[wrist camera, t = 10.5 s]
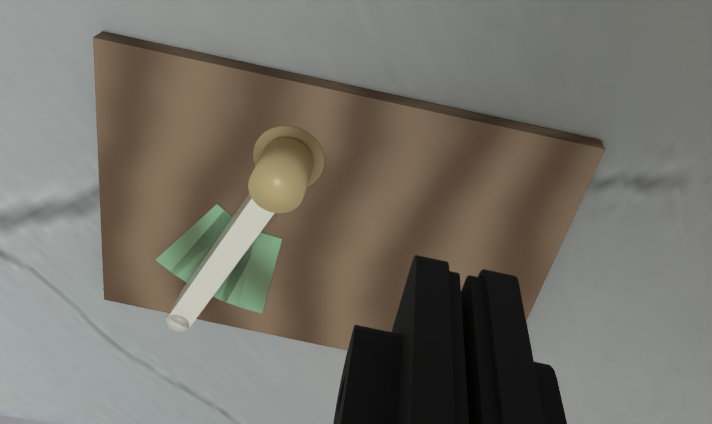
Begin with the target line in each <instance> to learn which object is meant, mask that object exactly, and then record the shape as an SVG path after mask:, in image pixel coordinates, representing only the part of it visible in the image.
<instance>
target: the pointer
mask: <svg viewBox="0 0 712 424" xmlns="http://www.w3.org/2000/svg"><path fill="white" fill-rule="evenodd" d="M312 170H313V157H312V154H311V152H310V151H309V149H308V148H307V147H306V146H305V145H304V144H303V143H301V142H299V141H297V140H295V139H292V138H278V139H275V140H273V141H271V142H270V143H268V144H267V145H266V147H265V148H264V150H263V152H262V154H261V156H260V158H259V160H258V162H257V164H256V166H255V168H254V170H253V172H252V174H251V176H250V179H249V182H248V190H249V194H248V196H247V197H246V199H245V200H244V201H243V203H242V204H241V206H240V207H239V209H238V210H237V212H236V213H235V214H234V216H233V217H232V219H231V220H230V222H229V223H228V224H227V226H226V227H225V229H224V230H223V232H222V233H221V235H220V236H219V237H218V239H217V240H216V242H215V243H214V245H213V246H212V247H211V249H210V250H209V252H208V253H207V255H206V256H205V257H204V259H203V260H202V262H201V263H200V265H199V266H198V268H197V269H196V270H195V272H194V273H193V275H192V276H191V278H190V279H189V280H188V282H187V283H186V285H185V286H184V288H183V289H182V291H181V293H180V295H179V296H178V298H177V300H176V302H175V304H174V306H173V308H172V310H171V312H170V314H169V316H168V318H167V320H166V323H167V326H168V327H169V328H170V329H171V330H173V331H175V332H180V333H181V332H186V331H187V330H188V329H189V328H190V326H191V325H192V324H193V322H194V321H195V320H196V318H197V317H198V316H199V314H200V313H201V312H202V310H203V309H204V308H205V306H206V305H207V304H208V302H209V301H210V300H211V298H212V297H213V295H214V294H215V293H216V291H217V290H218V289H219V287H220V286H221V285H222V283H223V282H224V281H225V279H226V278H227V277H228V275H229V274H230V273H231V271H232V270H233V269H234V267H235V266H236V265H237V263H238V262H239V260H240V259H241V258H242V256H243V255H244V254H245V252H246V251H247V250H248V248H249V247H250V246H251V244H252V243H253V242H254V240H255V239H256V238H257V236H258V235H259V234H260V232H261V231H262V230H263V228H264V227H265V225H266V224H267V223H268V221H269V220H270V219H271V217H272V216H273V215H274V213H287V212H290V211H292V210H294V209H296V208H297V207H298V206H299V205H300V203H301V202H302V200H303V197H304V194H305V191H306V188H307V185H308V182H309V179H310V176H311V173H312Z"/></svg>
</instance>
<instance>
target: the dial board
mask: <svg viewBox="0 0 712 424" xmlns="http://www.w3.org/2000/svg"><path fill="white" fill-rule="evenodd" d="M93 44H94V67H95V91H96V115H97V138H98V162H99V185H100V209H101V233H102V256H103V280H104V299H105V300H109V301H114V302H119V303H124V304H128V305H133V306H138V307H143V308H147V309H152V310H157V311H162V312H166V313H170V312H171V310H172V308H173V306H174V304H175V302H176V300H177V298H178V296H179V295H180V293H181V291H182V289H183V288H184V286H185V285H186V283H187V282H188V280H189V279H190V278H191V276H192V275H193V273H194V272H195V270H196V269H197V268H198V266H199V265H200V263H201V262H202V260H203V259H204V257H205V256H206V255H207V253H208V252H209V250H210V249H211V247H212V246H213V245H214V243H215V242H216V240H217V239H218V237H219V236H220V235H221V233H222V232H223V230H224V229H225V227H226V226H227V224H228V223H229V222H230V220H231V219H232V217H233V216H234V214H235V213H236V212H237V210H238V209H239V207H240V206H241V204H242V203H243V201H244V200H245V199H246V197H247V196H248V194H249V190H248V182H249V179H250V176H251V174H252V172H253V170H254V168H255V166H256V164H257V162H258V160H259V158H260V156H261V154H262V152H263V150H264V148H265V147H266V145H267V144H268V143H270V142H271V141H273V140H275V139H278V138H292V139H295V140H297V141H299V142H301V143H303V144H304V145H305V146H306V147H307V148H308V149H309V151H310V152H311V154H312V157H313V170H312V173H311V176H310V179H309V182H308V185H307V188H306V191H305V194H304V197H303V200H302V202H301V203H300V205H299V206H298V207H297V208H296V209H294V210H292V211H290V212H287V213H274V215H273V216H272V217H271V219H270V220H269V221H268V223H267V224H266V225H265V227H264V228H263V230H262V231H261V232H260V234H259V235H258V236H257V238H256V239H255V240H254V242H253V243H252V244H251V246H250V247H249V248H248V250H247V251H246V252H245V254H244V255H243V256H242V258H241V259H240V260H239V262H238V263H237V265H236V266H235V267H234V269H233V270H232V271H231V273H230V274H229V275H228V277H227V278H226V279H225V281H224V282H223V283H222V285H221V286H220V287H219V289H218V290H217V291H216V293H215V294H214V295H213V297H212V298H211V300H210V301H209V302H208V304H207V305H206V306H205V308H204V309H203V310H202V312H201V313H200V314H199V316H198V317H197V318H196V319H200V320H205V321H209V322H214V323H219V324H224V325H228V326H233V327H238V328H243V329H247V330H252V331H257V332H262V333H266V334H271V335H276V336H281V337H285V338H290V339H295V340H300V341H305V342H309V343H314V344H319V345H324V346H328V347H333V348H338V349H343V350H347V351H348V348H349V343H350V339H351V335H352V332H353V328H354V325H359V326H364V327H369V328H374V329H378V330H383V331H388V332H392V329H393V325H394V322H395V318H396V315H397V311H398V308H399V305H400V301H401V298H402V294H403V291H404V287H405V284H406V281H407V277H408V274H409V270H410V267H411V264H412V261H413V258H414V256H415V255H418V256H423V257H428V258H433V259H437V260H442V261H447V262H448V263H449V271H452V272H456V273H459V274H460V284H461V290H462V287H463V285H464V282H465V280H466V278H467V276H468V275H471V276H475V277H478V275H479V273H480V271H481V270H483V269H485V270H490V271H495V272H499V273H504V274H509V275H514V276H516V277H517V278H518V281H519V286H520V291H521V297H522V302H523V307H524V313H525V318H526V320H527V318H528V316H529V314H530V311H531V309H532V307H533V305H534V303H535V301H536V298H537V296H538V294H539V292H540V290H541V288H542V285H543V283H544V281H545V279H546V277H547V274H548V272H549V270H550V268H551V266H552V264H553V261H554V259H555V257H556V255H557V253H558V251H559V248H560V246H561V244H562V242H563V240H564V238H565V235H566V233H567V231H568V229H569V227H570V224H571V222H572V220H573V218H574V216H575V214H576V211H577V209H578V207H579V205H580V203H581V201H582V198H583V196H584V194H585V192H586V190H587V187H588V185H589V183H590V181H591V179H592V177H593V174H594V172H595V170H596V168H597V166H598V164H599V161H600V159H601V157H602V155H603V153H604V151H605V148H604V146H603V144H602V142H601V141H600V140H597V139H593V138H588V137H583V136H579V135H574V134H570V133H565V132H560V131H556V130H551V129H547V128H542V127H538V126H533V125H528V124H524V123H519V122H515V121H510V120H506V119H501V118H496V117H492V116H487V115H483V114H478V113H473V112H469V111H464V110H460V109H455V108H451V107H446V106H441V105H437V104H432V103H428V102H423V101H419V100H414V99H409V98H405V97H400V96H396V95H391V94H386V93H382V92H377V91H373V90H368V89H364V88H359V87H354V86H350V85H345V84H341V83H336V82H332V81H327V80H322V79H318V78H313V77H309V76H304V75H299V74H295V73H290V72H286V71H281V70H277V69H272V68H267V67H263V66H258V65H254V64H249V63H245V62H240V61H235V60H231V59H226V58H222V57H217V56H212V55H208V54H203V53H199V52H194V51H190V50H185V49H180V48H176V47H171V46H167V45H162V44H158V43H153V42H148V41H144V40H139V39H135V38H130V37H125V36H121V35H116V34H112V33H107V32H103V31H102V32H101V33H99V34H98V35H96V36H95V37H93Z"/></svg>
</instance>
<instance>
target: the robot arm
mask: <svg viewBox="0 0 712 424" xmlns="http://www.w3.org/2000/svg"><path fill="white" fill-rule="evenodd" d="M334 424H567V422H566V418H565V413H564V409H563V404H562V400H561V395H560V391H559V386H558V382H557V377H556V375H555V372H554V369H553V368H552V367H551V366H550V365H547V364H542V363H537V362H534V361H533V356H532V350H531V345H530V340H529V334H528V329H527V323H526V318H525V313H524V307H523V302H522V297H521V291H520V286H519V281H518V278H517V277H516V276H514V275H509V274H504V273H499V272H495V271H490V270H485V269H483V270H481V271H480V273H479V275H478V277H475V276H471V275H468V276H467V278H466V280H465V282H464V285H463V287H462V290H461V284H460V274H459V273H456V272H452V271H449V263H448V262H447V261H442V260H437V259H433V258H428V257H423V256H418V255H415V256H414V258H413V261H412V264H411V267H410V270H409V274H408V277H407V281H406V284H405V287H404V291H403V294H402V298H401V301H400V305H399V308H398V311H397V315H396V318H395V322H394V325H393V329H392V332H388V331H383V330H378V329H374V328H369V327H364V326H359V325H354V328H353V332H352V335H351V339H350V343H349V348H348V352H347V356H346V360H345V364H344V369H343V374H342V379H341V384H340V389H339V394H338V399H337V405H336V411H335V417H334Z"/></svg>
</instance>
